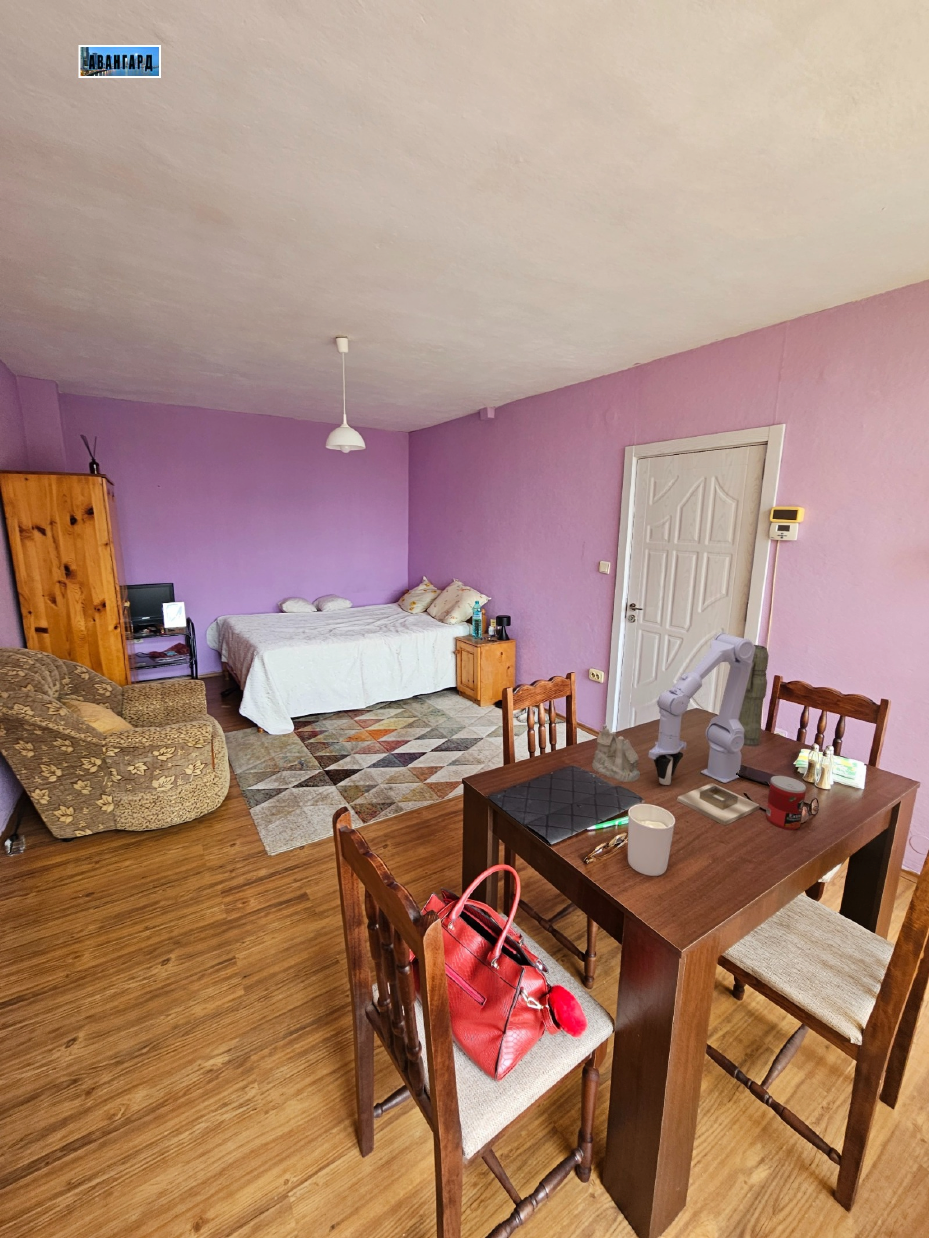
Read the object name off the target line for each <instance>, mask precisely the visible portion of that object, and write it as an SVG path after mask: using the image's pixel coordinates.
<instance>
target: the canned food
mask: <svg viewBox="0 0 929 1238" xmlns="http://www.w3.org/2000/svg"><path fill="white" fill-rule="evenodd" d="M769 782H770V783H769V787H768V793H767V795H768V796H767V805H766V812H765V815H766V819H767V820H768V822H769V823H771V824H772V825H774V826H775V827H778V828H780V829H784V830H789V831H793V830H797V829H799V828H800V826H801V823H802V819H803V818H802V817H803V811H804V805H805V800H806V799H805V798H806V793H807V792H806V791H807V787H806V785H805V784H804V783H803V782H801V781H800V780H798V779H795V778H792V777H789V776H785V775H773V776H772V777H770V780H769Z"/></svg>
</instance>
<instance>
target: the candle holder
mask: <svg viewBox="0 0 929 1238" xmlns="http://www.w3.org/2000/svg"><path fill="white" fill-rule="evenodd" d="M627 812H628V813H627V815H628V821H627V822H628V827H627V829H628V830H627V831H628V832H627V834H628V835H627V862H628V864H629V866H630V867H631V868H632V869H633V870H634V871H636V872H638V873H640V874H642V875H645V876H649V877H650V876H651V877H658V876H661V875H664V874H665V873H666V871H667V869H668V865H669V859H670V853H671V852H670V851H671V848H672V842H673V835H674V829H675V825H676V818H675V816H674V815H673V814H672V813H671V812H670V811H669V810H667V809H666V808H663V807H661V806H658V805H654V804H649V803H638V804H635V805H632V806H631V807H630V808H629V809H628V811H627Z"/></svg>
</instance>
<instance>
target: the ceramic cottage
mask: <svg viewBox="0 0 929 1238" xmlns="http://www.w3.org/2000/svg"><path fill="white" fill-rule="evenodd" d="M616 734H617V733H616V732H615V731H612V732H610V729H609V728H608V726H607V724H605V723H603V724H602V729H599V733H598V736H597V739H596V750H595V751H594V755H593V760H592V763H591V767H592V768H593V770H595V771H596V772H597V773H599V774H602V775H605V776H607V777H609V778H612V779H614V780H617V781H620V782H622V783H623V782H624V783H625V782H626V783H628V782H629V783H630V782H634V781H637V780H639V778H640V776H641V775H640V774H641V773H640V771H639V770H638V766H639V762H638V761H639V756H638V754H637V753H636V751H635V749H634V748H633V747H632V744H631V742H630V740H629V739H625V737H624V736H618V737H616Z"/></svg>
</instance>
